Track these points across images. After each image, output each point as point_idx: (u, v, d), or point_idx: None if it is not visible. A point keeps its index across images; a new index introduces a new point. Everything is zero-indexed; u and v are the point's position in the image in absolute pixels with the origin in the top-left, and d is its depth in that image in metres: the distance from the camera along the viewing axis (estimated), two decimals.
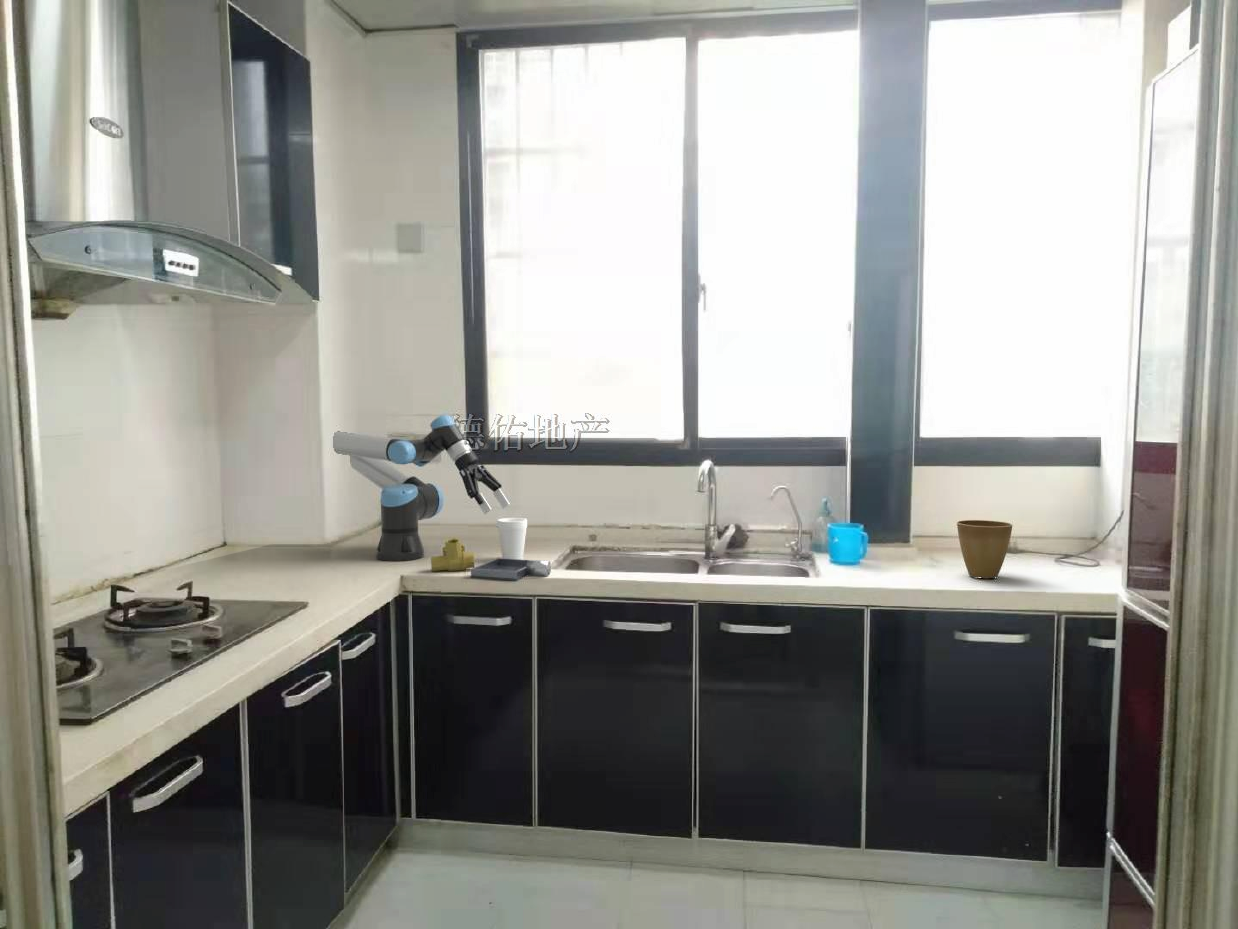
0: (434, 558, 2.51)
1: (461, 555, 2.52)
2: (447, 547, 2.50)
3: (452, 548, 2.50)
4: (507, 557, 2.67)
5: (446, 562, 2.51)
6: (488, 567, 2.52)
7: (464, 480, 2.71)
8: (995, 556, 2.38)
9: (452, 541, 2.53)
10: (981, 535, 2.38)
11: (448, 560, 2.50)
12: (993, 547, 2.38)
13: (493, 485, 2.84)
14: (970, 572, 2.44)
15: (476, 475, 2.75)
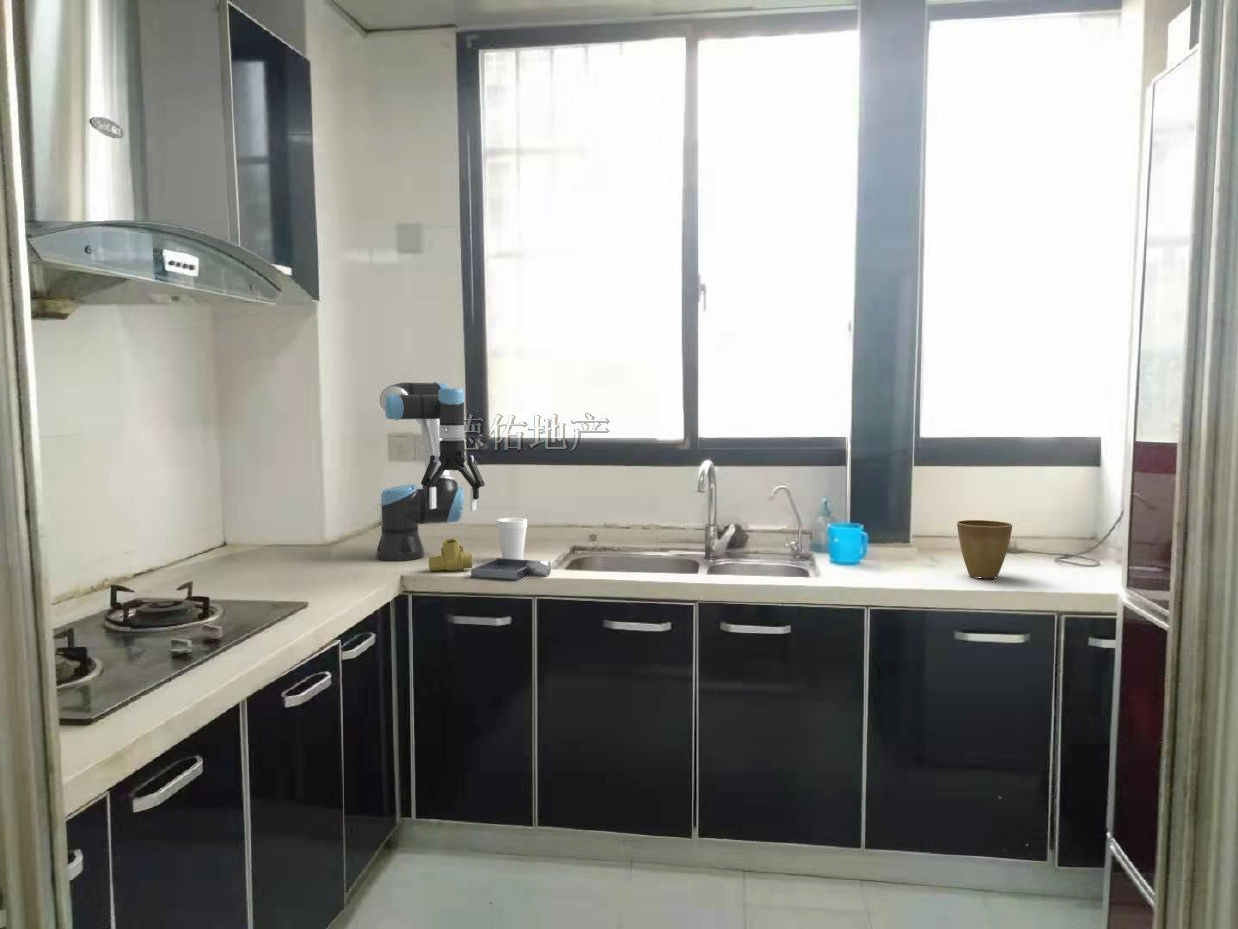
0: (432, 558, 2.51)
1: (459, 555, 2.51)
2: (445, 547, 2.50)
3: (450, 549, 2.49)
4: (507, 557, 2.67)
5: (444, 562, 2.50)
6: (488, 567, 2.52)
7: None
8: (995, 556, 2.38)
9: (450, 541, 2.53)
10: (981, 535, 2.38)
11: (446, 560, 2.50)
12: (993, 547, 2.38)
13: None
14: (970, 572, 2.44)
15: (440, 467, 2.52)
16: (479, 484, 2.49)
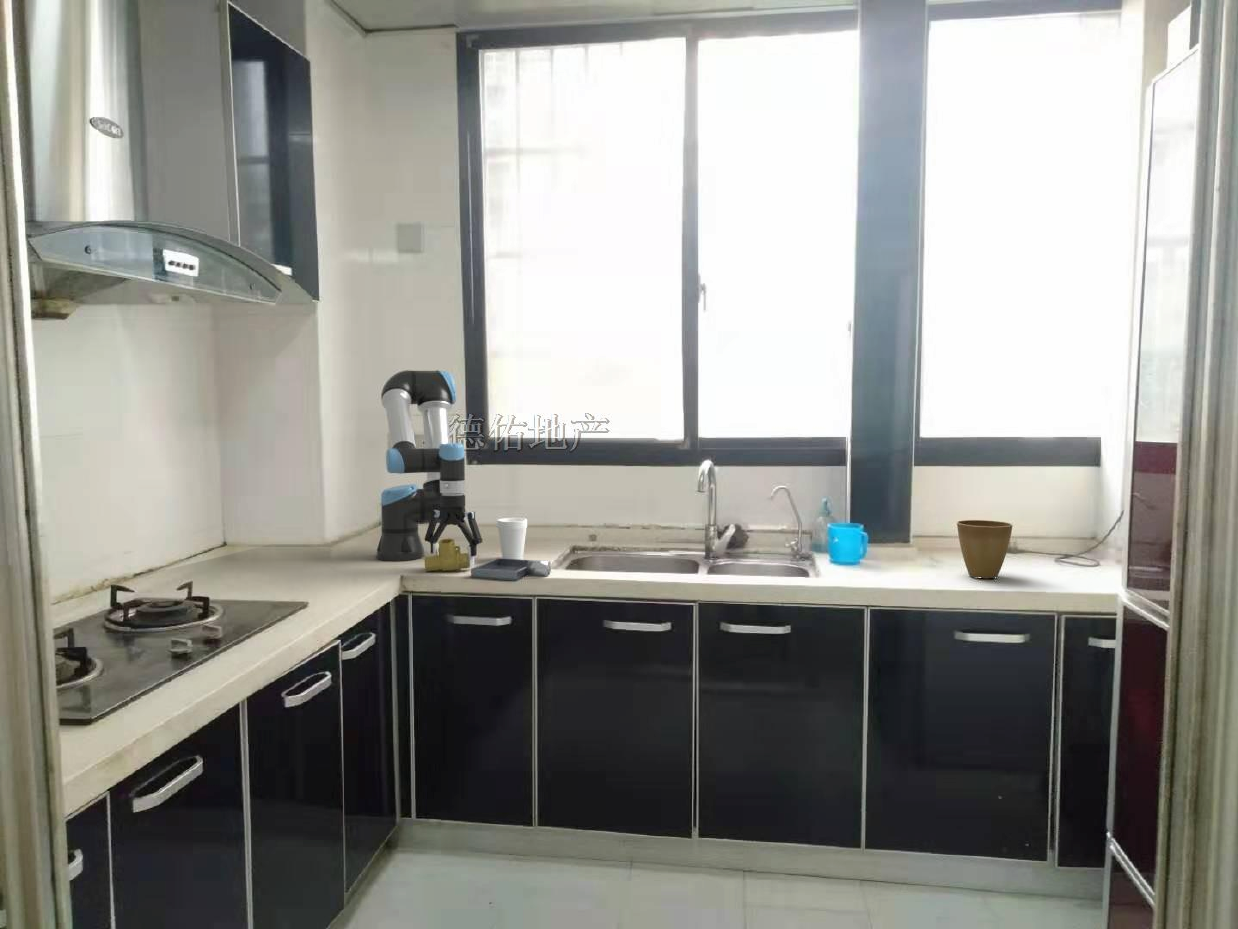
0: (428, 558, 2.50)
1: (455, 555, 2.50)
2: (440, 547, 2.49)
3: (445, 549, 2.49)
4: (507, 557, 2.67)
5: (439, 562, 2.50)
6: (488, 567, 2.52)
7: None
8: (995, 556, 2.38)
9: (446, 541, 2.52)
10: (981, 535, 2.38)
11: (441, 560, 2.50)
12: (993, 547, 2.38)
13: None
14: (970, 572, 2.44)
15: (442, 522, 2.53)
16: (477, 541, 2.51)
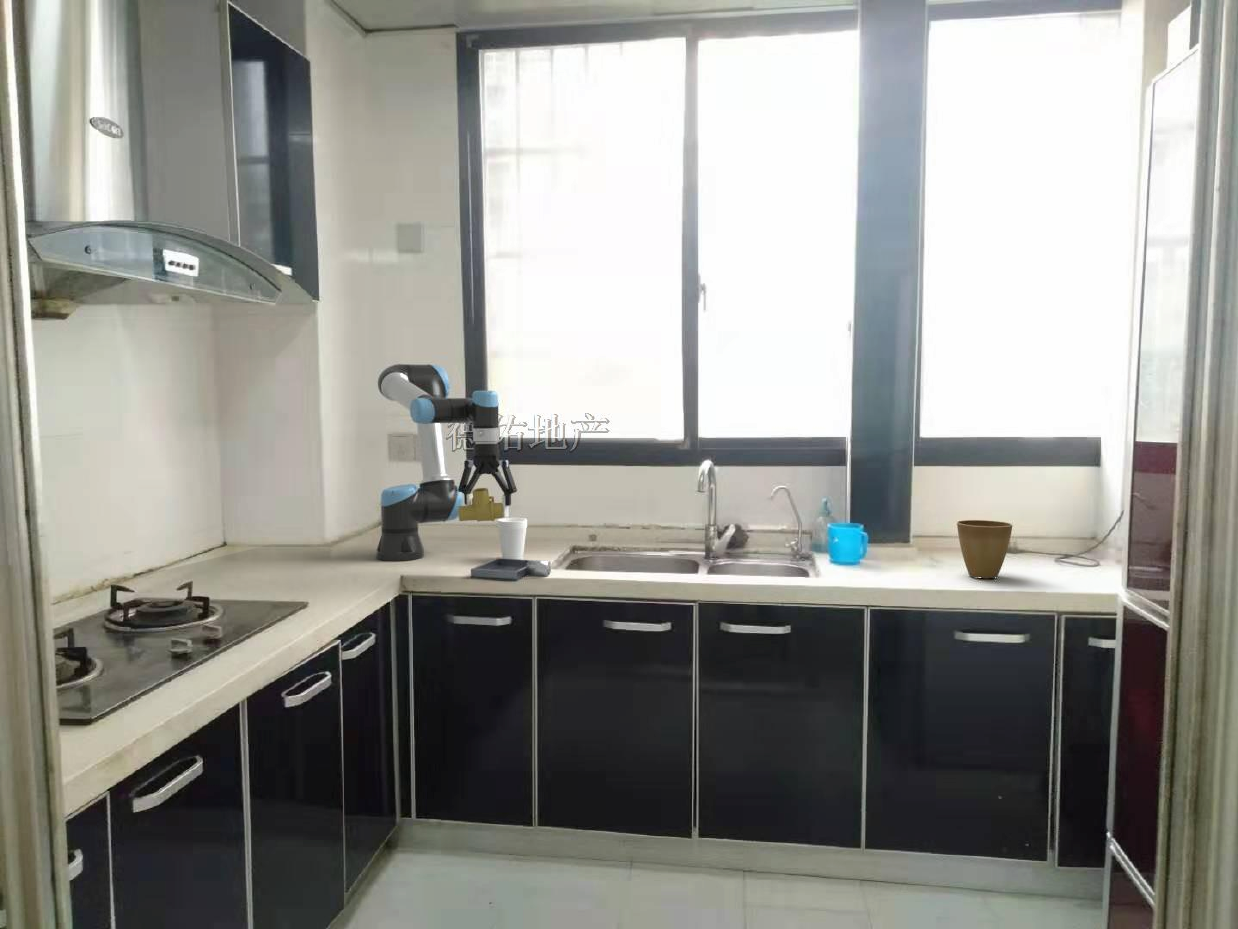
0: (461, 507, 2.45)
1: (489, 504, 2.44)
2: (474, 496, 2.44)
3: (479, 497, 2.43)
4: (507, 557, 2.67)
5: (473, 511, 2.44)
6: (488, 567, 2.52)
7: None
8: (995, 556, 2.38)
9: (480, 490, 2.47)
10: (981, 535, 2.38)
11: (475, 509, 2.44)
12: (993, 547, 2.38)
13: None
14: (970, 572, 2.44)
15: (475, 472, 2.48)
16: (511, 490, 2.45)
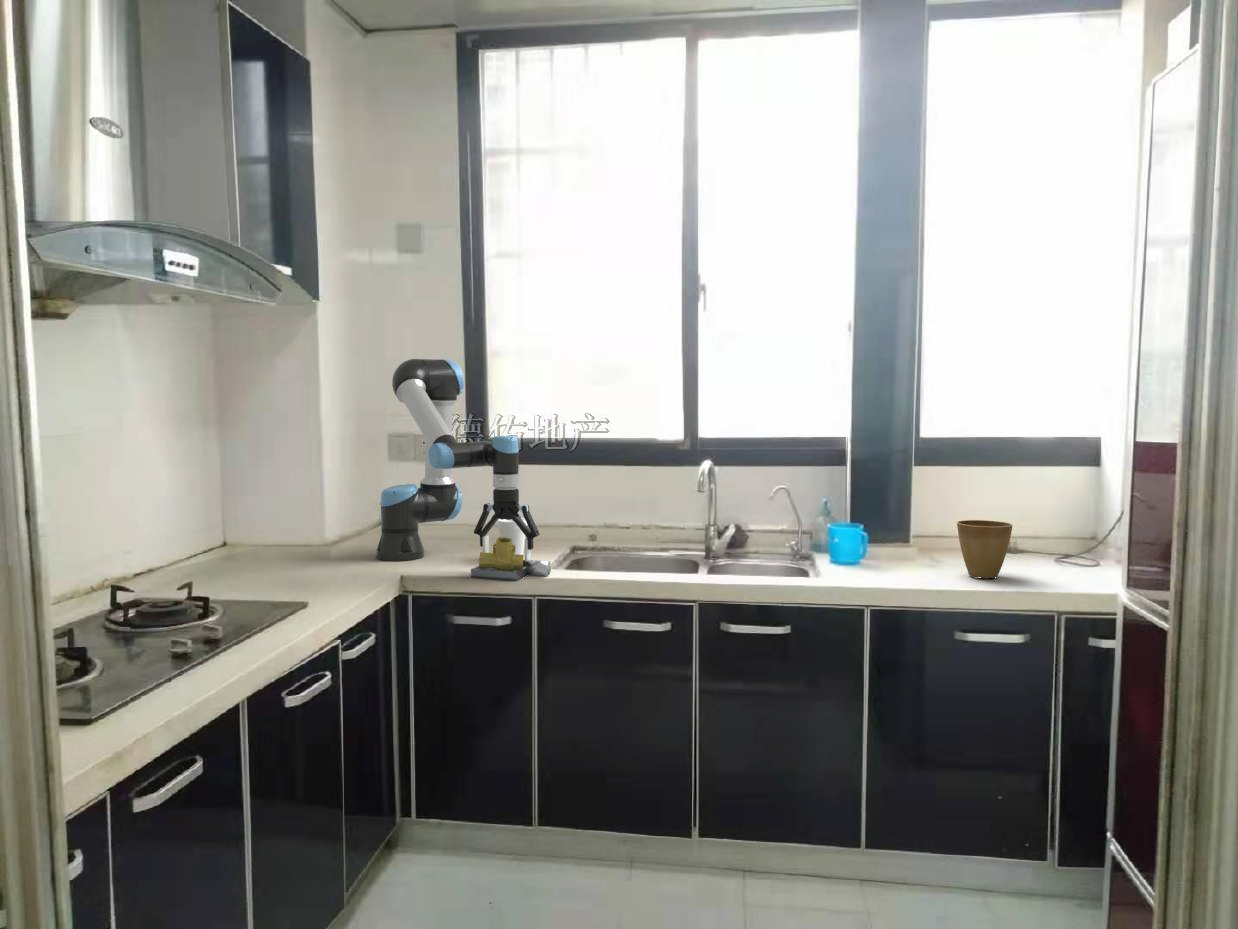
0: (483, 554, 2.44)
1: (510, 556, 2.44)
2: (498, 546, 2.43)
3: (502, 548, 2.43)
4: None
5: (494, 561, 2.44)
6: None
7: None
8: (995, 556, 2.38)
9: (504, 540, 2.46)
10: (981, 535, 2.38)
11: (497, 559, 2.43)
12: (993, 547, 2.38)
13: None
14: (970, 572, 2.44)
15: (494, 516, 2.47)
16: (534, 534, 2.44)
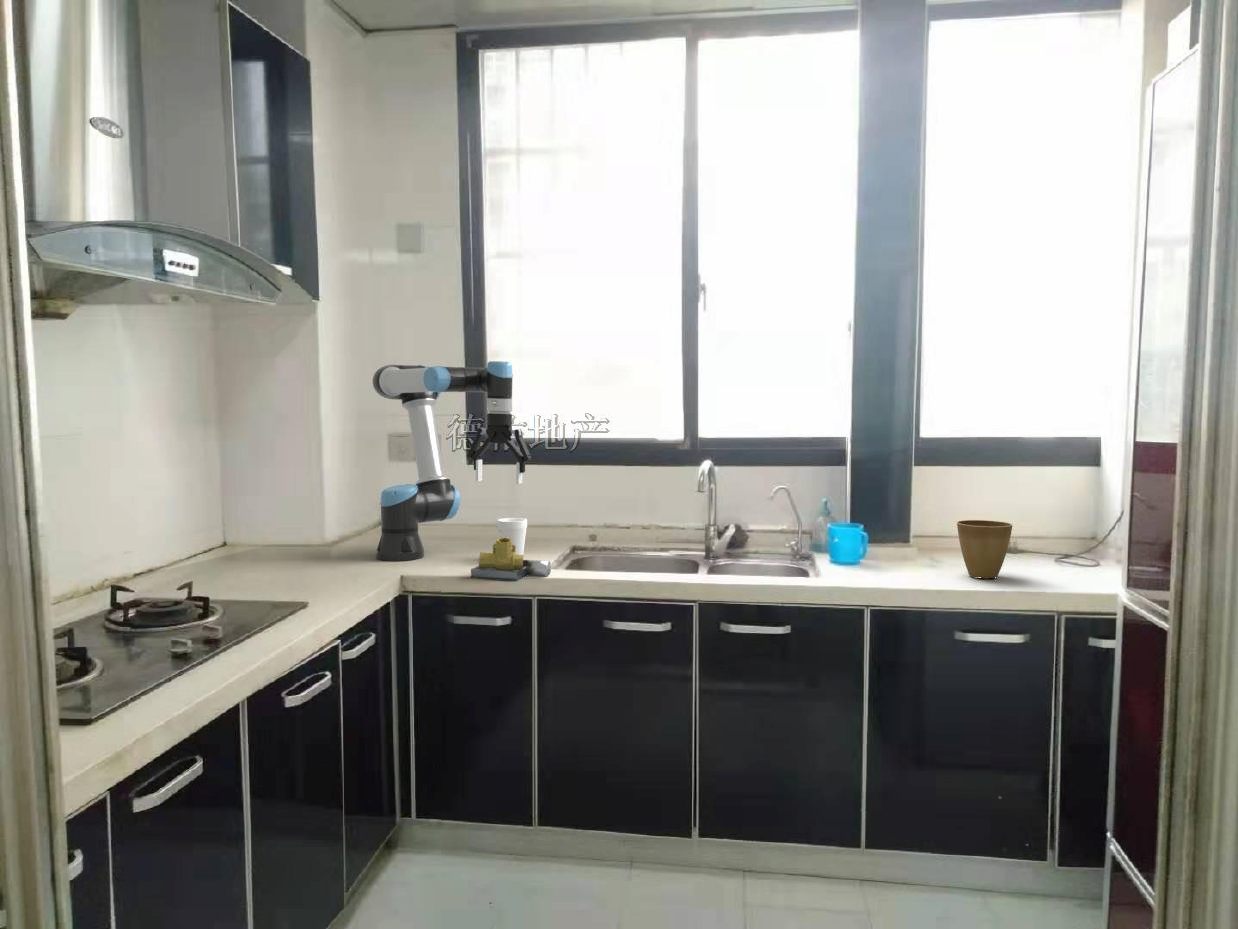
0: (483, 554, 2.44)
1: (510, 556, 2.44)
2: (498, 546, 2.43)
3: (502, 548, 2.43)
4: None
5: (494, 561, 2.44)
6: None
7: None
8: (995, 556, 2.38)
9: (504, 540, 2.46)
10: (981, 535, 2.38)
11: (497, 559, 2.43)
12: (993, 547, 2.38)
13: None
14: (970, 572, 2.44)
15: (487, 440, 2.53)
16: (526, 458, 2.50)
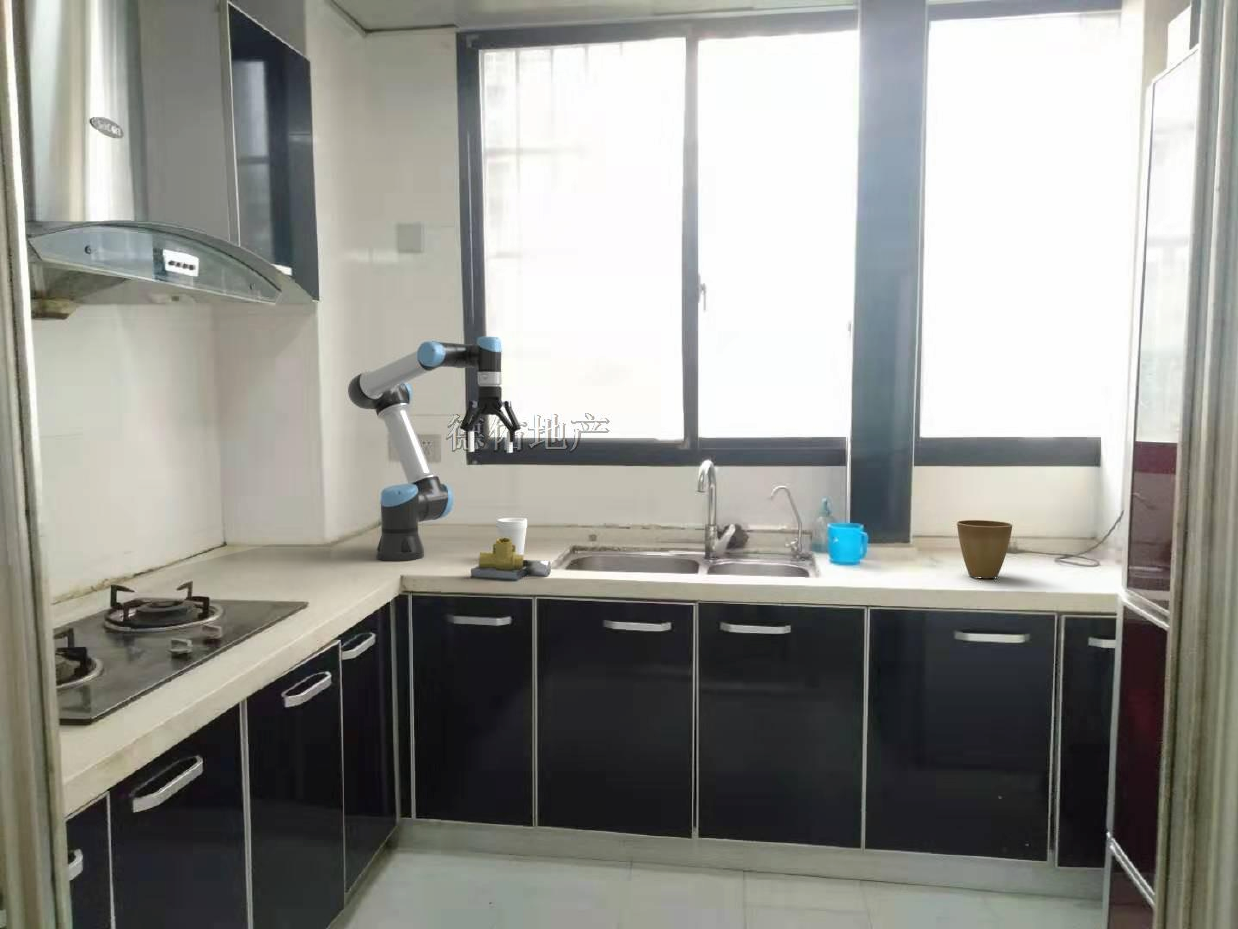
0: (483, 554, 2.44)
1: (510, 556, 2.44)
2: (498, 546, 2.43)
3: (502, 548, 2.43)
4: None
5: (494, 561, 2.44)
6: None
7: None
8: (995, 556, 2.38)
9: (504, 540, 2.46)
10: (981, 535, 2.38)
11: (497, 559, 2.43)
12: (993, 547, 2.38)
13: None
14: (970, 572, 2.44)
15: (479, 412, 2.67)
16: (516, 427, 2.64)
